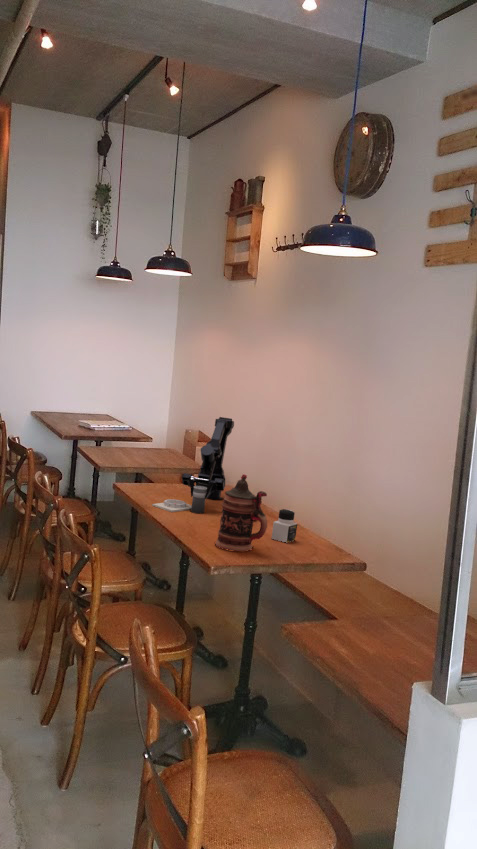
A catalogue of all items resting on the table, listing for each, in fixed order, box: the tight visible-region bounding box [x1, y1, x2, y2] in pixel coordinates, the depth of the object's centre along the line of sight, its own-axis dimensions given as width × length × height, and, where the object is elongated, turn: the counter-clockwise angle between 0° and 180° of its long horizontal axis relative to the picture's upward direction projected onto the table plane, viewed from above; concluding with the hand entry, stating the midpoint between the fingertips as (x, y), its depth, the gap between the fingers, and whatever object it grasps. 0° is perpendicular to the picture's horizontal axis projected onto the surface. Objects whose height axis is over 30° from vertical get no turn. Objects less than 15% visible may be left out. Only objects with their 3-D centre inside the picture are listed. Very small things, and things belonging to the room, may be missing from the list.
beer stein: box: [215, 474, 268, 552], centre depth 271 cm, size 17×28×18 cm
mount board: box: [151, 498, 192, 513], centre depth 325 cm, size 16×12×3 cm
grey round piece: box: [190, 485, 207, 514], centre depth 321 cm, size 6×6×11 cm
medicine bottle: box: [271, 508, 298, 544], centre depth 292 cm, size 7×7×12 cm
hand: (198, 497), depth 320 cm, fingers closed on grey round piece, 6 cm apart
